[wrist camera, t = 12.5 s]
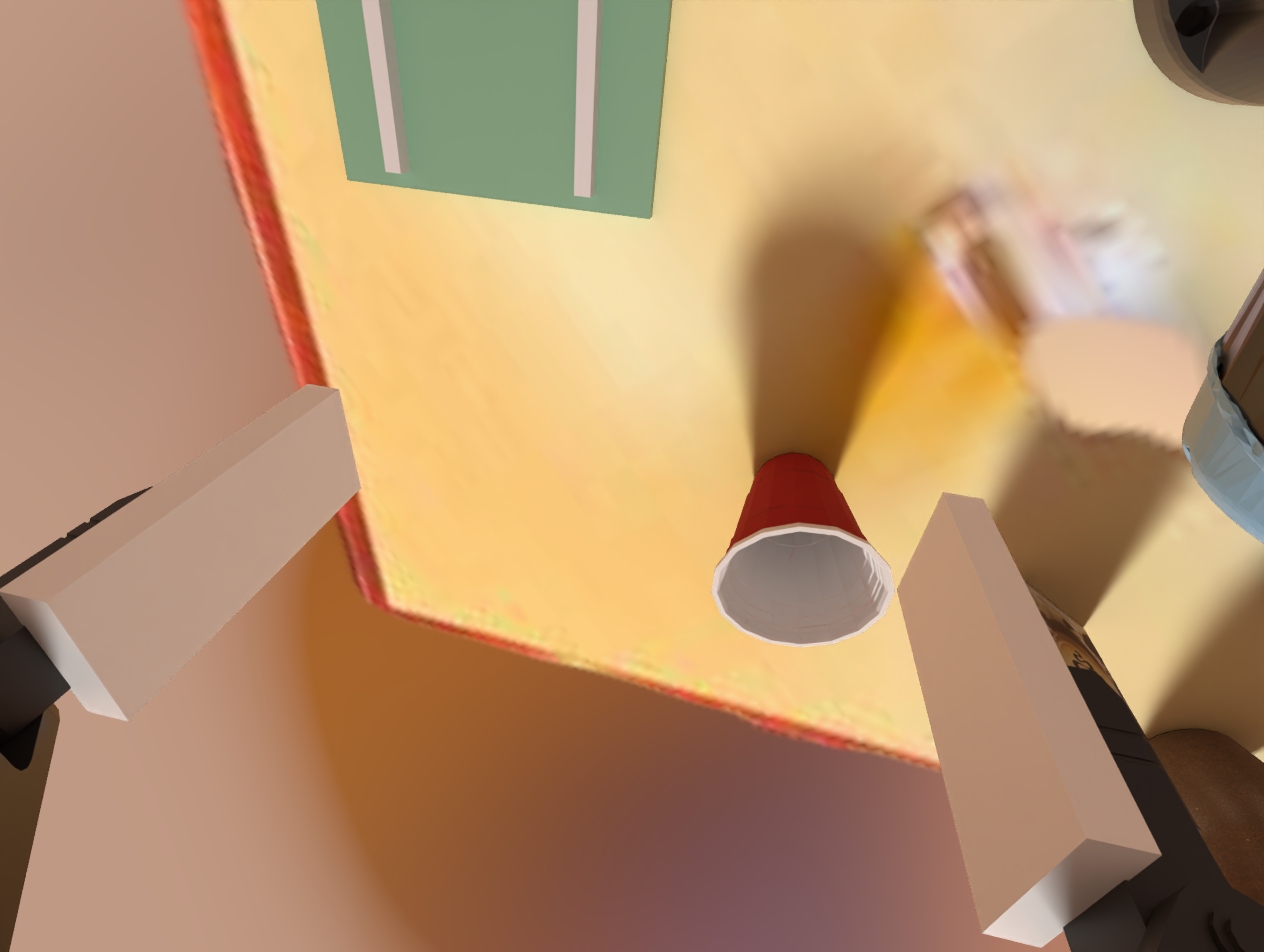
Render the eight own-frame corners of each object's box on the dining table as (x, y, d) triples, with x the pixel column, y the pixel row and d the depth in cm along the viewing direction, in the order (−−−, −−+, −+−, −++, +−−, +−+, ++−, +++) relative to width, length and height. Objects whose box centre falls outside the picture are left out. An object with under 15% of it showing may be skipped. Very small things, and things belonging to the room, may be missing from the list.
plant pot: (1176, 677, 49) (1323, 895, 36) (1344, 737, 49) (1552, 976, 36) (1052, 764, 58) (1134, 965, 45) (1195, 815, 58) (1318, 1030, 45)
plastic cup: (759, 556, 50) (756, 671, 41) (698, 457, 46) (679, 559, 36) (889, 515, 46) (922, 634, 36) (836, 401, 41) (856, 501, 32)
